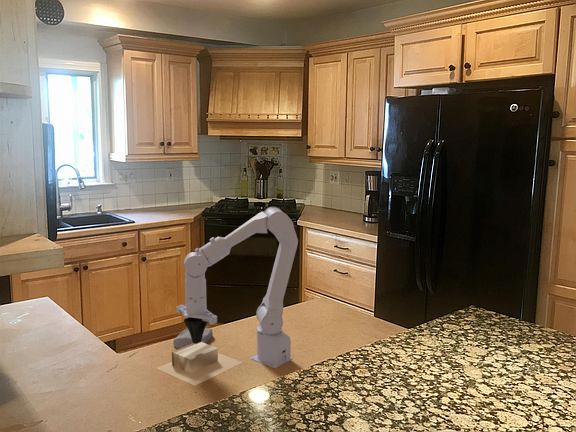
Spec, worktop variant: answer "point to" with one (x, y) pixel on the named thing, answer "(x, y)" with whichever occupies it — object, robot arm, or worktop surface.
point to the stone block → (186, 339)
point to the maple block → (194, 357)
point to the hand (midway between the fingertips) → (197, 342)
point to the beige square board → (201, 370)
